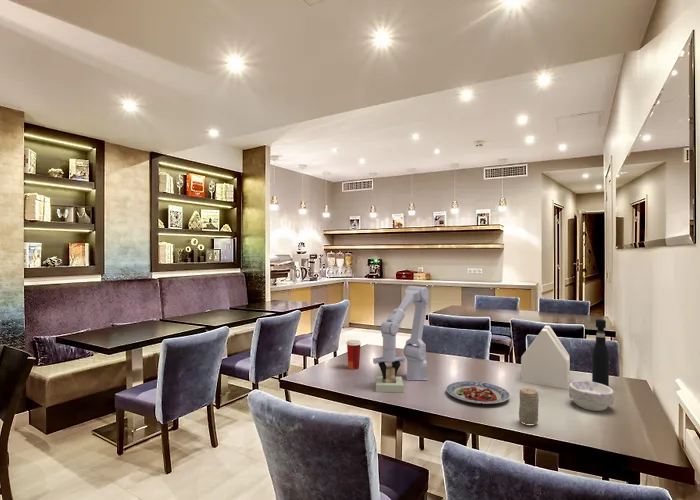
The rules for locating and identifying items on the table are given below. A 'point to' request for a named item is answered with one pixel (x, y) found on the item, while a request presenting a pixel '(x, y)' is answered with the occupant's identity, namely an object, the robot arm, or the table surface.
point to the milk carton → (546, 361)
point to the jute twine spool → (528, 406)
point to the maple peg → (390, 375)
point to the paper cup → (353, 354)
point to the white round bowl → (591, 395)
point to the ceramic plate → (478, 392)
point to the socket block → (389, 385)
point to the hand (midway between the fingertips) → (389, 378)
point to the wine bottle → (600, 356)
